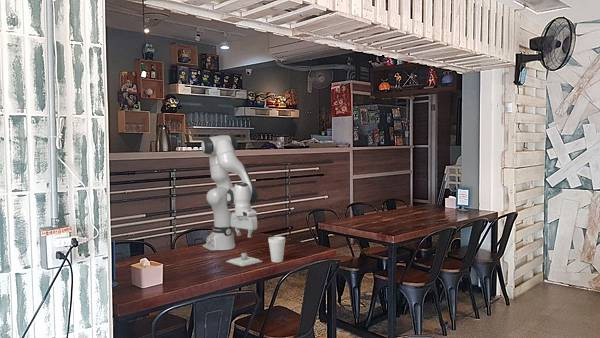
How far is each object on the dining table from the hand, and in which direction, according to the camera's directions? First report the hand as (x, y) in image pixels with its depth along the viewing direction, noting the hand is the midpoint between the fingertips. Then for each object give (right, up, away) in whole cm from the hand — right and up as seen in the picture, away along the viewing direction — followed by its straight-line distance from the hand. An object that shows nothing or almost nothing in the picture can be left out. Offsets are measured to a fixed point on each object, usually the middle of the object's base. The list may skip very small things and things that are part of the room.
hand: (244, 236), depth 275 cm
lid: (0, -14, +1) cm, 14 cm away
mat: (0, -14, +1) cm, 14 cm away
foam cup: (+18, -14, +2) cm, 23 cm away
